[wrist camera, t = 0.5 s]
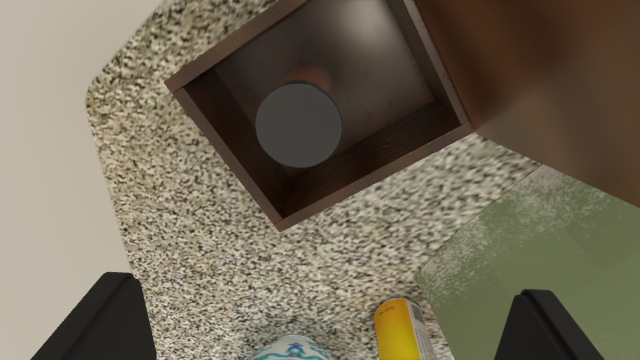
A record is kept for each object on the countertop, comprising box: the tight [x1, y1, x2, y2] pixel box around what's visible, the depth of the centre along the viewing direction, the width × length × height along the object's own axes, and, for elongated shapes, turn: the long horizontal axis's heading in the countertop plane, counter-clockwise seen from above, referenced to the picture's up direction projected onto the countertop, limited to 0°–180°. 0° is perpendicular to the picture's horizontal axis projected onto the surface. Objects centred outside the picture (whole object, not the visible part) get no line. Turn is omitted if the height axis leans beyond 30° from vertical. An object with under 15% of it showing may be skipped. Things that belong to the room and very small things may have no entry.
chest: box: [164, 0, 475, 232], centre depth 31 cm, size 18×15×9 cm
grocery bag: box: [414, 164, 640, 360], centre depth 31 cm, size 32×14×23 cm, turn 143°
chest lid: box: [416, 0, 640, 208], centre depth 16 cm, size 19×15×1 cm
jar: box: [255, 63, 342, 168], centre depth 31 cm, size 6×6×10 cm
